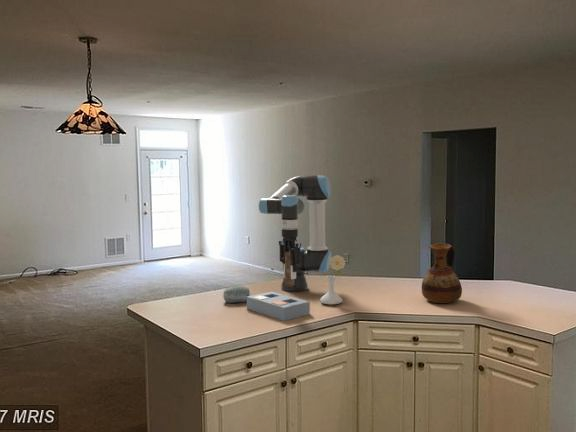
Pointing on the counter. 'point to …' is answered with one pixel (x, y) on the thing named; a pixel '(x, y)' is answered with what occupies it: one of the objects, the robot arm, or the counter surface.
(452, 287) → the ceramic pitcher
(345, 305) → the counter surface
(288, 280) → the peg
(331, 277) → the flower in vase
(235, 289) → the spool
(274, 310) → the socket block
